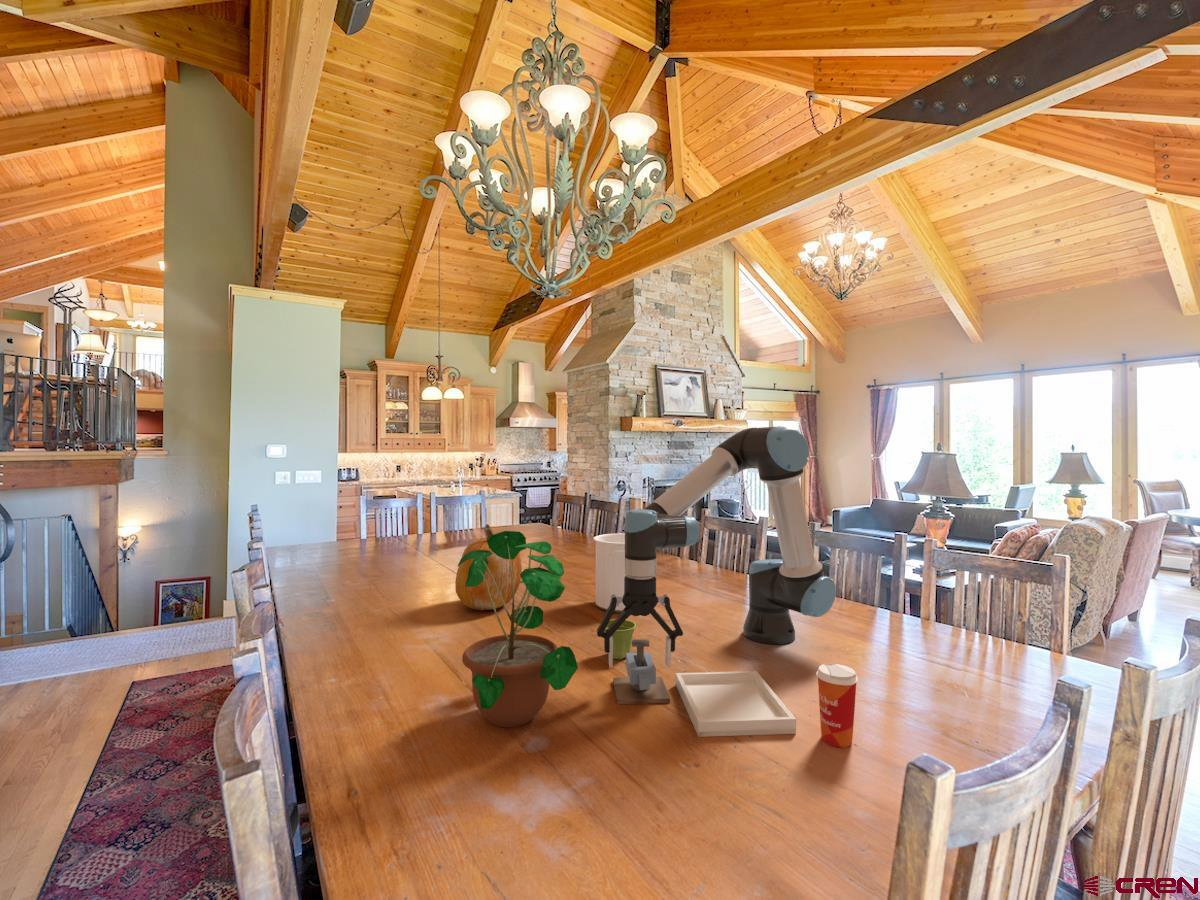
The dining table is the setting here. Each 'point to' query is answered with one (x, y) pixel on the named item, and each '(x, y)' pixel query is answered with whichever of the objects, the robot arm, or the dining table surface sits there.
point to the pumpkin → (488, 578)
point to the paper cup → (837, 703)
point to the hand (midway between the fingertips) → (639, 665)
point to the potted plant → (517, 639)
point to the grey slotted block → (641, 671)
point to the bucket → (610, 569)
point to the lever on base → (632, 692)
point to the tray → (733, 704)
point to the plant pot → (622, 639)
